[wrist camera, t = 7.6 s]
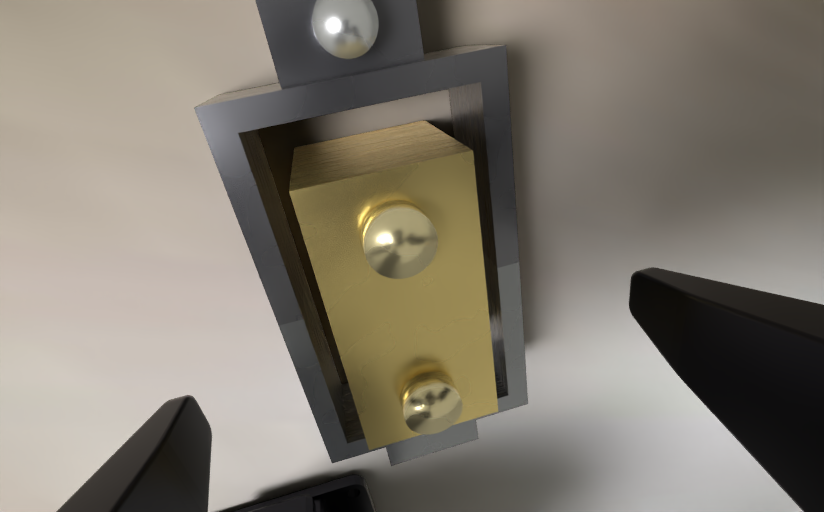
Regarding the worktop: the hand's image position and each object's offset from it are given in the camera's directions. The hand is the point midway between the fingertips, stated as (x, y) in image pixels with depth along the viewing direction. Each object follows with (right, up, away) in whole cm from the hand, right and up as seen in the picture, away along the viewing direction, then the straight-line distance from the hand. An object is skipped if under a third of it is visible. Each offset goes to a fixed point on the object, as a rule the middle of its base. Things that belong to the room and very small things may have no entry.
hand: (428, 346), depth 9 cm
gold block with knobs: (-1, +2, +5) cm, 5 cm away
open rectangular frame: (-1, +2, +4) cm, 5 cm away
